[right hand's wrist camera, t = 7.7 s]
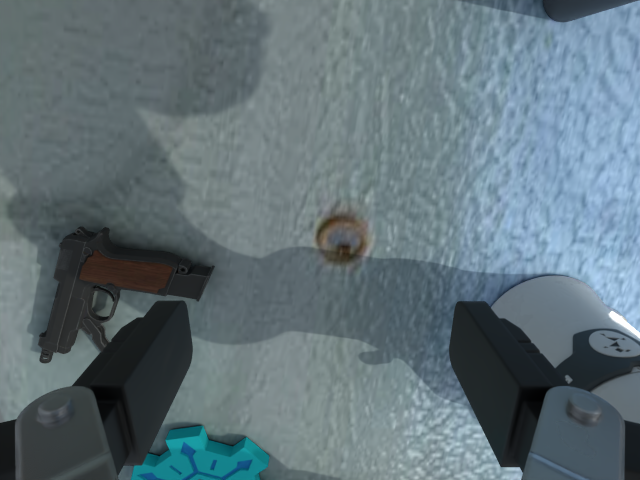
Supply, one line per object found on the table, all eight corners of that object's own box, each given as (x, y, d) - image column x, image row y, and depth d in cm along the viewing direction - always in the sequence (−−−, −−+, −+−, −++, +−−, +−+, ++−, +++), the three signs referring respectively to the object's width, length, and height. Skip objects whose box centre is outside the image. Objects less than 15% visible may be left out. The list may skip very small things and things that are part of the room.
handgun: (208, 279, 40) (59, 219, 36) (151, 406, 47) (25, 365, 44) (216, 262, 43) (79, 206, 40) (162, 384, 51) (44, 345, 47)
